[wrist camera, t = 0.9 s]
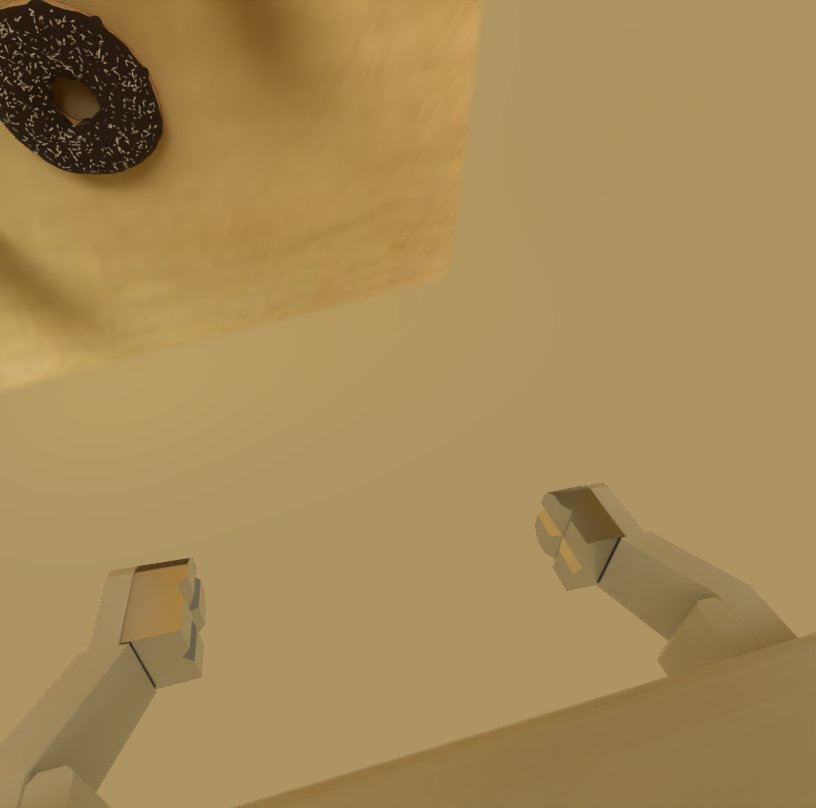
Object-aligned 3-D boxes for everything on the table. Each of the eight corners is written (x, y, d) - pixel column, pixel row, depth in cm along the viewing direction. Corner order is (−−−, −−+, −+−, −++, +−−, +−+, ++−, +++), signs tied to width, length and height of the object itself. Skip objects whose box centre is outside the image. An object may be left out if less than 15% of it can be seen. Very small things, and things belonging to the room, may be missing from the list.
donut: (91, 190, 43) (91, 210, 41) (-66, 54, 34) (-77, 70, 32) (188, 113, 42) (194, 129, 40) (53, -50, 33) (50, -41, 30)
